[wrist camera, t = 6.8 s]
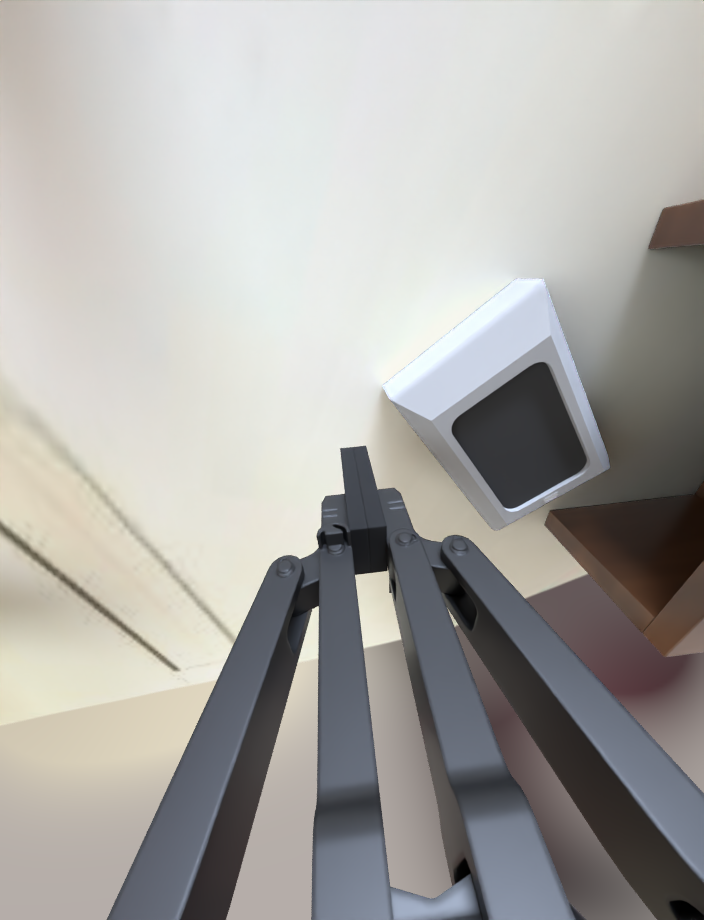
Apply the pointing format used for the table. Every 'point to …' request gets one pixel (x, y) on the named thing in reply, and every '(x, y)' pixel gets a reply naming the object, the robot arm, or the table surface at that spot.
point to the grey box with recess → (504, 406)
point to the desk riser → (649, 526)
